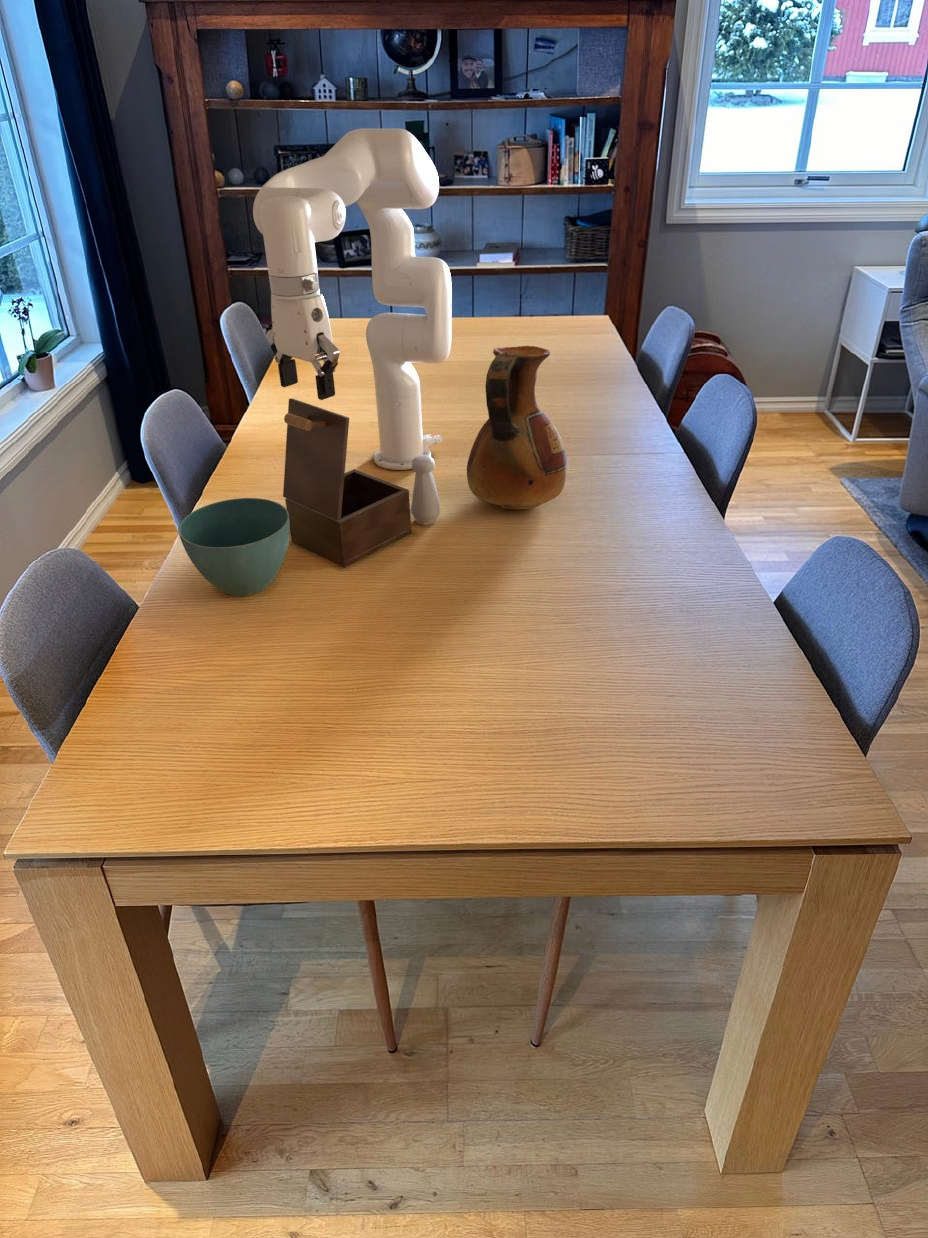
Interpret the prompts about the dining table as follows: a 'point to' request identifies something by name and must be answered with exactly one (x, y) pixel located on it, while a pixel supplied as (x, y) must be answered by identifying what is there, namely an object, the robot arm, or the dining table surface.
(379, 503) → the chest
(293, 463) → the chest lid
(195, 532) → the green bowl
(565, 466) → the ceramic pitcher
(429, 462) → the salt shaker
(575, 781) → the dining table surface
